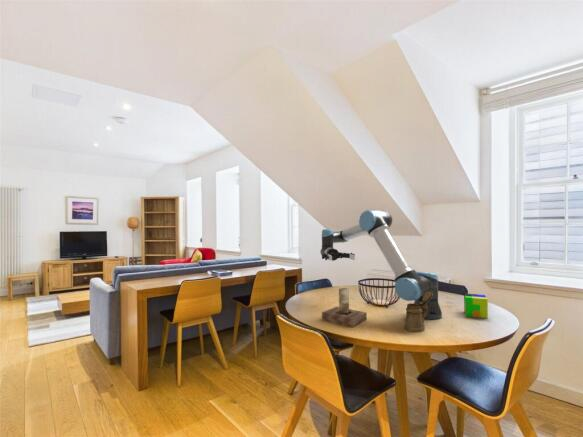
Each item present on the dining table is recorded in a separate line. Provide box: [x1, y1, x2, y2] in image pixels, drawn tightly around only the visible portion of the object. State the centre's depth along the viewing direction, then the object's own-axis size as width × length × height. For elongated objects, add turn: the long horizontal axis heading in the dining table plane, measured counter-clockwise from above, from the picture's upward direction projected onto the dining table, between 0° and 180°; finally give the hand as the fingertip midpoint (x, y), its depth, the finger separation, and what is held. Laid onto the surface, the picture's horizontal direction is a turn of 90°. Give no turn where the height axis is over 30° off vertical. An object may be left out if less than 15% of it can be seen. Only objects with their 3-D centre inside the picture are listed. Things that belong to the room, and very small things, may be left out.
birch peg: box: [338, 287, 350, 315], centre depth 162 cm, size 5×5×16 cm
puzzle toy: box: [463, 293, 489, 319], centre depth 171 cm, size 10×10×10 cm
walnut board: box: [321, 306, 368, 328], centre depth 162 cm, size 18×14×4 cm
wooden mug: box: [403, 291, 433, 333], centre depth 149 cm, size 9×14×18 cm, turn 90°
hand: (342, 257), depth 180 cm, fingers open, 13 cm apart
